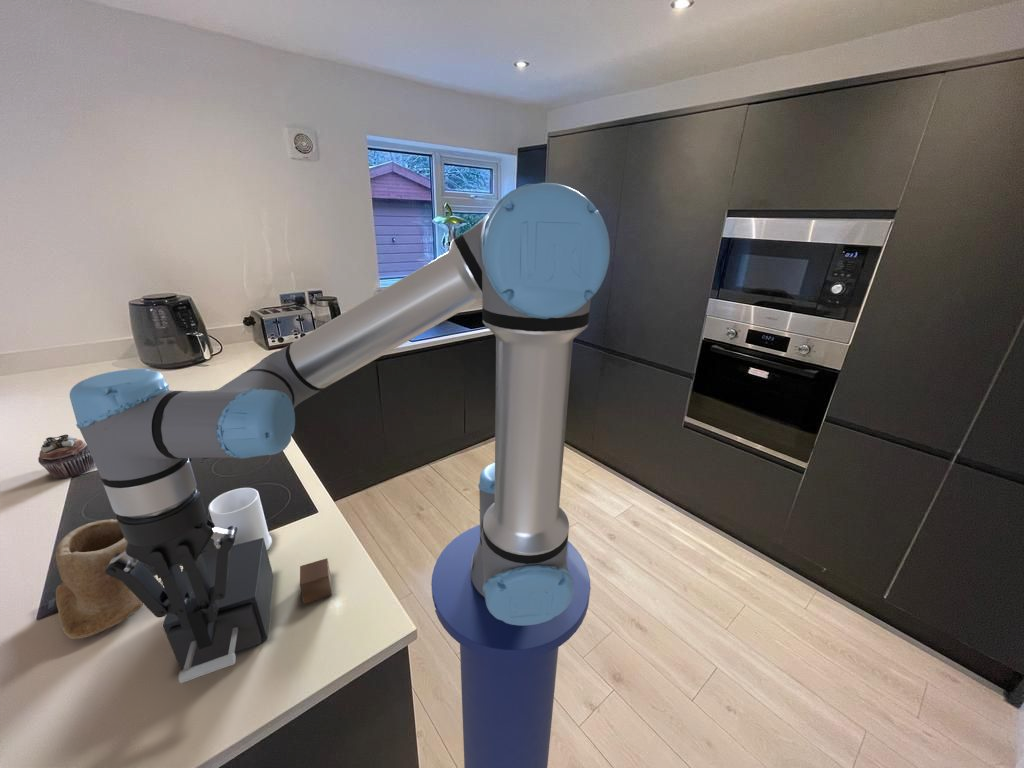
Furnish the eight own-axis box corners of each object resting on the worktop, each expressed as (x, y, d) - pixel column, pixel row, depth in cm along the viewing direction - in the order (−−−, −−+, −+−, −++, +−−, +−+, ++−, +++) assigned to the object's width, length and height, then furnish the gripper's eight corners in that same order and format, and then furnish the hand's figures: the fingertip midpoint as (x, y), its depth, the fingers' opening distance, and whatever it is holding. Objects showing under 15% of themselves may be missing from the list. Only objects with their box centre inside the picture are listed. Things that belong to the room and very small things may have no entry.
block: (330, 576, 75) (327, 557, 73) (332, 595, 71) (328, 575, 69) (304, 584, 73) (300, 565, 71) (304, 604, 69) (299, 584, 67)
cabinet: (267, 639, 63) (255, 596, 60) (180, 669, 58) (162, 625, 55) (273, 575, 74) (263, 537, 71) (201, 597, 70) (187, 557, 67)
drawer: (257, 678, 57) (246, 643, 54) (170, 711, 53) (153, 674, 50) (267, 582, 72) (259, 551, 69) (201, 602, 68) (189, 569, 65)
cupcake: (102, 469, 105) (88, 435, 101) (48, 485, 98) (31, 450, 94) (96, 456, 111) (83, 424, 107) (44, 471, 104) (28, 437, 100)
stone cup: (167, 604, 68) (139, 535, 63) (66, 656, 60) (25, 581, 54) (148, 559, 77) (123, 495, 72) (59, 598, 69) (22, 529, 64)
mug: (245, 524, 87) (233, 477, 83) (286, 522, 88) (275, 476, 83) (212, 566, 76) (195, 515, 72) (259, 564, 77) (245, 514, 72)
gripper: (229, 470, 53) (264, 600, 61) (99, 494, 47) (157, 633, 56) (219, 503, 46) (259, 643, 55) (67, 535, 41) (138, 685, 50)
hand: (207, 638), depth 55 cm, fingers closed
